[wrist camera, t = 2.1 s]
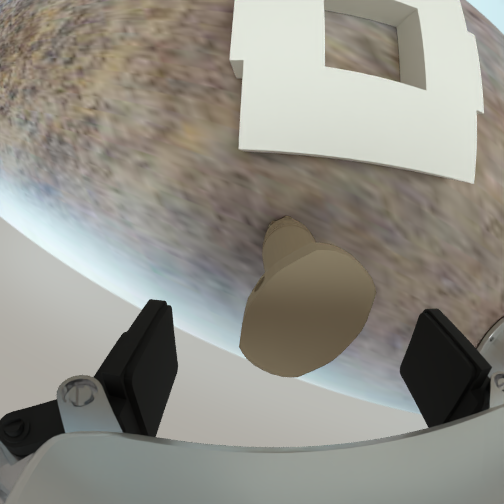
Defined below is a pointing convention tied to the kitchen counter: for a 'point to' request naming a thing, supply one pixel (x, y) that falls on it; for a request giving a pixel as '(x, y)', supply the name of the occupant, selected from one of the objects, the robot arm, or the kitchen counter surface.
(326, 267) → the handle
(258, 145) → the socket block
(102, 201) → the kitchen counter surface
